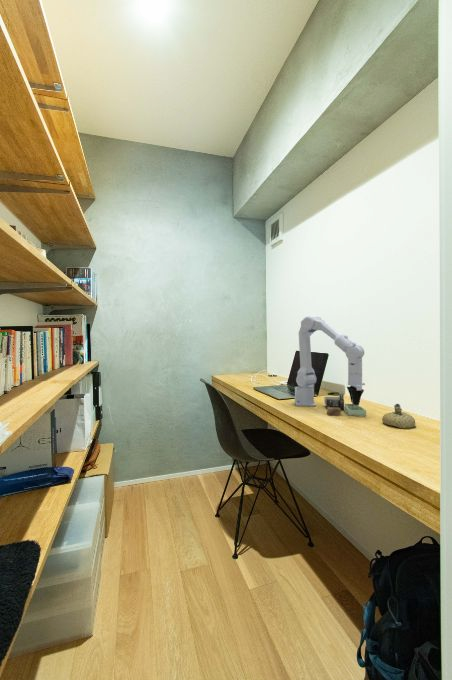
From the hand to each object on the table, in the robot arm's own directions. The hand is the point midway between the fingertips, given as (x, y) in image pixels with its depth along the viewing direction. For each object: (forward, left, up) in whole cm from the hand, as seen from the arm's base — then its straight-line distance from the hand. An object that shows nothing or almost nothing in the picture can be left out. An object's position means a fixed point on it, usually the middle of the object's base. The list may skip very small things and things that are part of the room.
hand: (355, 403), depth 136 cm
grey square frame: (+1, +9, -4) cm, 10 cm away
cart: (-7, +9, -4) cm, 12 cm away
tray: (0, 0, -4) cm, 4 cm away
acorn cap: (+12, -14, -5) cm, 20 cm away
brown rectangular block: (-10, -2, -5) cm, 11 cm away
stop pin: (0, 0, -3) cm, 3 cm away
